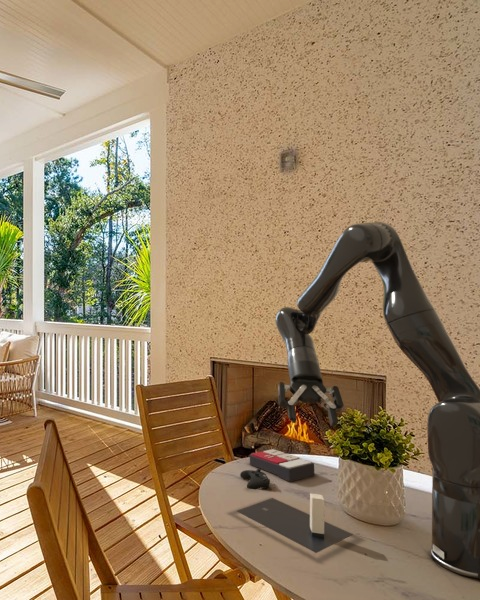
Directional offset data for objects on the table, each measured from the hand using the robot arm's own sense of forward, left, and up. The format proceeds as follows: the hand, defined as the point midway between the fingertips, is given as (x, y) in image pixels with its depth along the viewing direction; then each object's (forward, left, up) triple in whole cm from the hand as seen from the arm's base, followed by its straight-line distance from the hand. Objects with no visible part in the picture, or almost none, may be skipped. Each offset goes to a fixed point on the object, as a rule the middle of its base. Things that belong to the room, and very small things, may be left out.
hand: (313, 423), depth 104 cm
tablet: (0, +8, -23) cm, 24 cm away
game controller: (+19, -4, -23) cm, 30 cm away
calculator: (+22, -20, -23) cm, 38 cm away
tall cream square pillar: (-6, +8, -22) cm, 24 cm away
